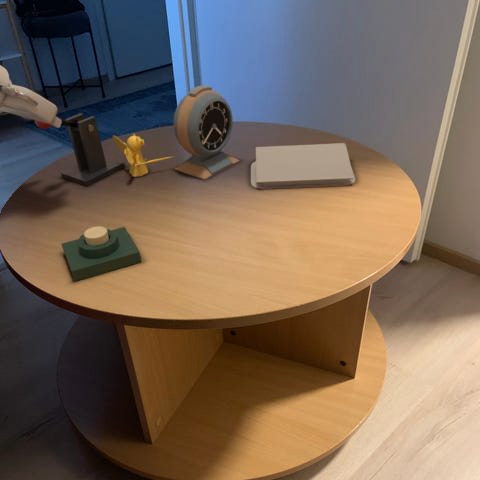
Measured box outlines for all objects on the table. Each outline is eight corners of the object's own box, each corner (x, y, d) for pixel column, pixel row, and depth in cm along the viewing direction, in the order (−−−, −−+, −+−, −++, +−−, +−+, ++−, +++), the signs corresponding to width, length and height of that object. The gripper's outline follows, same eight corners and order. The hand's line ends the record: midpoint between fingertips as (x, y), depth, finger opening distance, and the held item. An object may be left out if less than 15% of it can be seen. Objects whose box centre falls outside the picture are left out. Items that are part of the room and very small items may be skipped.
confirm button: (89, 249, 88) (86, 240, 87) (84, 238, 91) (81, 230, 89) (111, 242, 89) (109, 234, 88) (106, 232, 92) (103, 224, 91)
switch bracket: (87, 186, 115) (72, 130, 107) (62, 177, 119) (45, 123, 111) (125, 167, 122) (113, 112, 114) (100, 159, 126) (87, 106, 118)
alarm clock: (201, 181, 114) (192, 100, 102) (171, 171, 119) (160, 92, 107) (242, 159, 122) (238, 81, 110) (213, 150, 127) (206, 75, 115)
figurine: (181, 173, 118) (176, 136, 112) (131, 185, 114) (123, 147, 108) (165, 155, 126) (159, 120, 120) (118, 166, 123) (110, 130, 117)
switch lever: (40, 129, 104) (42, 110, 103) (30, 126, 105) (31, 107, 104) (91, 136, 114) (93, 119, 113) (81, 133, 116) (82, 117, 115)
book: (251, 160, 121) (250, 144, 119) (347, 156, 120) (348, 140, 117) (250, 189, 110) (250, 172, 107) (357, 185, 108) (359, 167, 106)
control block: (75, 281, 87) (68, 262, 84) (64, 253, 94) (58, 234, 91) (141, 261, 90) (137, 242, 88) (126, 236, 97) (122, 218, 95)
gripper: (25, 75, 89) (82, 114, 101) (-39, 61, 98) (20, 98, 111) (13, 108, 89) (71, 143, 101) (-50, 92, 99) (10, 125, 111)
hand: (44, 120), depth 106 cm, fingers open, 8 cm apart
